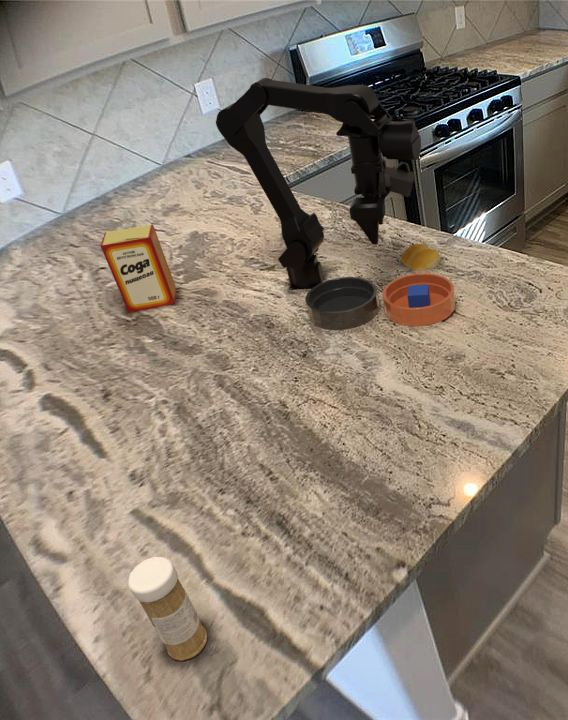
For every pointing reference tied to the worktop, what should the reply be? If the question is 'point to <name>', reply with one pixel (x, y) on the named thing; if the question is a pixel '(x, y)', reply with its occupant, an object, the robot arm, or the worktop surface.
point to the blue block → (418, 296)
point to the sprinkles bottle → (168, 607)
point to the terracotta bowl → (402, 314)
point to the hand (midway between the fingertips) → (377, 233)
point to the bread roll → (420, 257)
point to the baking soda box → (139, 267)
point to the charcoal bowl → (342, 303)
